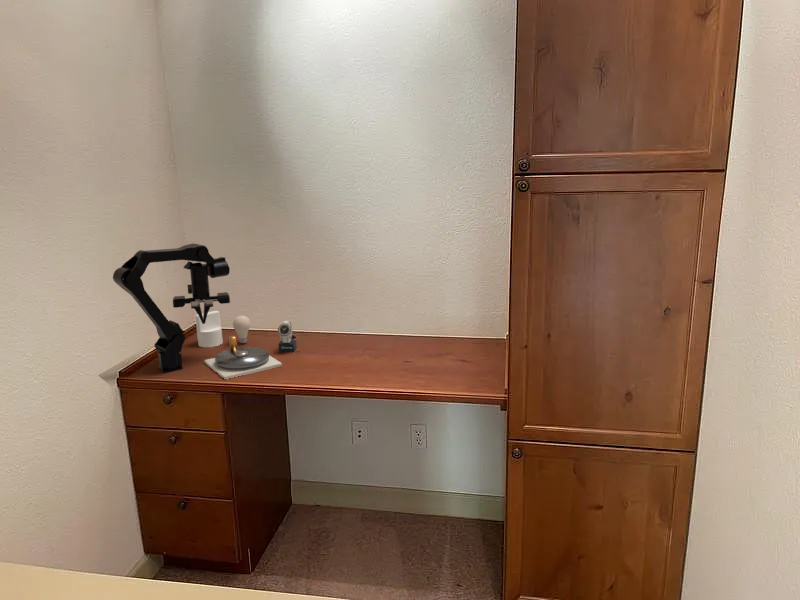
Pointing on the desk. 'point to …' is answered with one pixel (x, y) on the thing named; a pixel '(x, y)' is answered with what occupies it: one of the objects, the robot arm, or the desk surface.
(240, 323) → the light bulb
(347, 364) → the desk surface
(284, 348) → the watch
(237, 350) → the handwheel
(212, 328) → the base with upright slab
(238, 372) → the wheel base
